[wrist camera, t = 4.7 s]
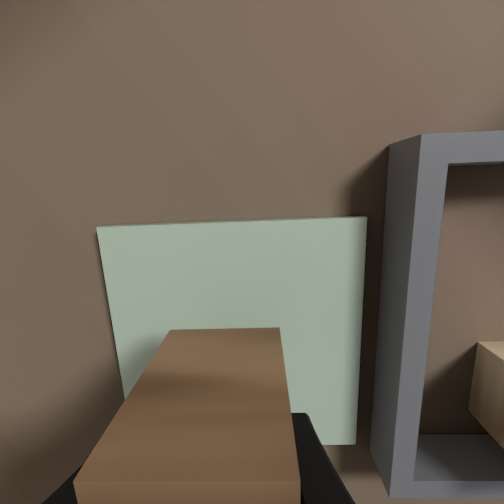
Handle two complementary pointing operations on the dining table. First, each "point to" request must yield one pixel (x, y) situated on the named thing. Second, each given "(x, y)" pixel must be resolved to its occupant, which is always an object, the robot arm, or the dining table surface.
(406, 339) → the parts bin
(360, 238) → the pad
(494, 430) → the maple block
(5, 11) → the dining table surface
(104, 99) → the dining table surface
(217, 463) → the walnut block
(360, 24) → the dining table surface
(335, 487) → the robot arm
